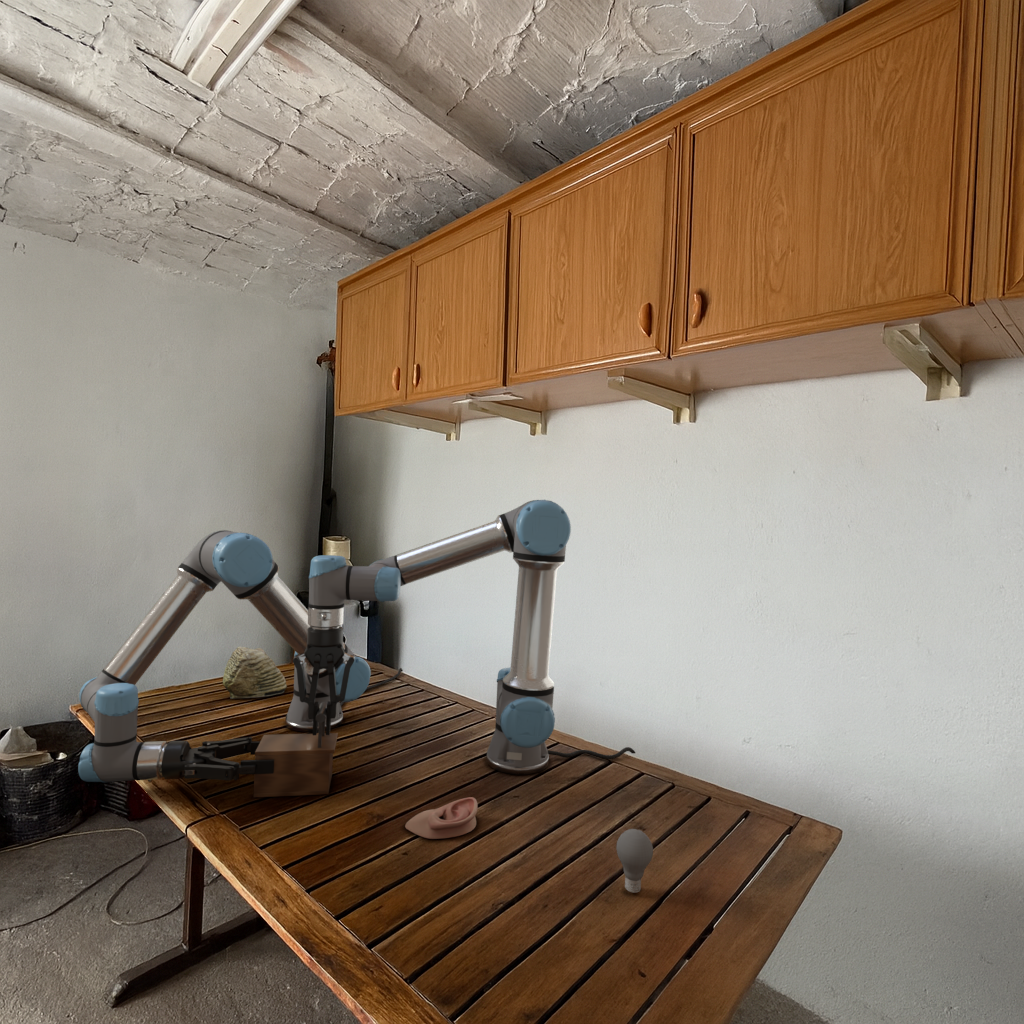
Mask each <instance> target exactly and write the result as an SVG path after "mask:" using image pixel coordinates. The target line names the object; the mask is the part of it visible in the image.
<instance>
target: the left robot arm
mask: <svg viewBox="0 0 1024 1024" xmlns="http://www.w3.org/2000/svg"><path fill="white" fill-rule="evenodd" d="M176 571H177V572H176V573H177V574H176V577H175V578H174V579H173V580H172V582H171V583H170V584H169V586H168V587H167V588H165V591H163V593H162V594H161V596H160V597H159V598H158V600H157V601H156V602H155V604H153V606H152V607H151V608H150V610H149V611H148V612H147V613H146V615H145V616H144V617H143V618H142V620H141V621H140V622H139V624H138V625H137V626H136V627H135V629H134V630H132V633H130V635H129V636H128V637H127V639H126V640H125V641H124V642H123V644H122V645H121V647H120V648H119V649H118V650H117V651H116V653H115V654H114V655H113V656H112V658H111V659H110V660H109V661H108V663H107V664H106V665H105V667H104V668H103V669H102V670H101V671H100V672H99V673H98V675H97V676H96V677H93V678H90V679H89V680H87V681H86V682H85V683H83V685H82V686H81V687H80V689H79V693H78V699H79V703H80V706H81V708H82V709H83V710H84V712H86V713H87V714H88V715H89V717H90V718H91V719H92V721H93V722H94V739H93V742H92V743H88V744H87V745H86V746H85V747H84V748H83V750H82V751H81V754H80V756H79V762H78V767H77V770H78V776H79V778H80V780H81V781H84V782H87V783H113V782H129V781H131V782H132V781H147V782H149V783H151V782H153V781H155V780H157V781H158V780H162V779H164V780H182V779H183V778H184V779H186V780H190V779H201V780H202V779H203V780H216V781H228V782H229V781H238V780H240V776H246V775H254V774H273V773H274V759H268V760H255V759H242V760H240V762H237V761H232V760H227V758H231V757H236V756H237V757H238V756H241V755H242V756H243V755H245V754H250V756H255V751H256V749H257V748H258V746H259V744H260V742H261V740H257V741H256V740H253V737H252V736H247V737H239V738H231V739H230V738H229V739H223V740H213V741H212V740H210V741H207V740H205V741H202V743H201V746H198V747H193V748H192V747H191V744H190V742H189V741H188V740H171V741H169V742H168V741H167V740H159V741H157V740H156V741H154V740H153V741H137V736H138V715H139V714H138V712H139V703H140V700H139V690H138V687H137V685H136V684H137V683H138V682H139V680H141V678H142V677H143V676H144V674H145V673H146V672H147V670H148V669H149V667H150V666H151V665H152V663H153V662H154V661H155V659H156V658H157V657H158V656H159V655H160V653H161V652H162V651H163V650H164V648H165V647H166V646H167V644H168V643H169V642H170V640H171V639H172V637H173V636H174V635H175V634H176V633H177V631H178V630H179V629H180V627H181V626H182V625H183V623H184V622H185V620H186V619H187V618H188V617H189V615H190V614H191V613H192V611H194V609H195V608H196V606H197V605H198V604H199V603H200V601H201V600H202V598H204V596H205V595H206V593H209V592H213V591H214V590H215V589H216V588H217V586H218V585H219V584H220V583H221V584H223V585H224V586H225V587H226V588H227V589H228V590H229V592H231V594H232V595H233V596H234V597H235V598H236V599H237V600H248V602H249V603H250V604H251V605H252V606H253V607H254V608H255V609H256V611H258V613H260V615H261V616H262V617H263V618H264V619H265V620H266V621H267V622H268V623H269V625H270V626H271V627H273V629H274V630H275V631H276V632H277V633H278V634H279V635H280V636H281V637H282V638H283V640H284V641H285V642H286V643H287V644H288V645H289V646H290V647H291V648H292V650H294V655H293V658H294V657H295V656H296V655H298V656H299V655H301V654H303V653H304V651H305V649H306V648H307V631H308V628H309V627H310V626H309V625H308V608H306V606H305V605H304V603H302V602H301V600H300V599H299V598H298V597H297V596H296V595H295V594H294V592H292V590H291V589H290V588H289V586H287V584H286V583H285V582H284V580H283V579H282V578H280V576H279V571H280V567H279V565H278V564H277V562H275V560H274V558H273V554H272V551H271V548H270V547H269V545H268V544H267V543H266V542H265V541H264V540H263V539H261V538H260V537H258V536H256V535H253V534H251V533H249V532H237V531H232V530H227V529H224V530H216V531H213V532H211V533H208V534H207V535H205V536H204V537H203V538H201V540H199V541H198V542H197V543H196V545H195V546H194V547H192V549H191V550H190V552H189V553H188V554H187V556H186V557H185V558H184V559H183V560H182V561H181V563H180V564H179V565H178V567H177V568H176ZM343 648H344V650H345V653H347V654H349V655H354V656H355V660H354V663H353V664H352V666H351V668H350V673H349V678H348V684H347V689H346V695H345V699H344V701H342V702H338V703H337V707H336V717H335V718H331V729H330V730H332V729H335V728H337V727H339V726H340V725H342V723H343V722H344V713H343V709H342V706H343V705H344V703H350V702H353V701H355V700H357V699H359V698H360V697H361V696H362V695H363V694H364V693H365V691H368V690H371V689H374V688H377V687H379V686H383V685H384V684H387V683H389V682H392V681H393V680H395V679H396V678H398V677H399V676H400V675H401V673H402V672H403V668H402V667H400V668H399V669H398V672H397V674H395V675H393V676H392V677H390V678H387V679H385V680H383V681H381V682H377V683H375V684H372V685H369V684H370V681H371V680H370V679H371V676H372V670H371V666H370V665H369V664H368V663H369V662H367V661H366V660H365V659H364V658H362V657H360V656H357V655H356V654H355V653H354V652H353V651H352V650H351V649H350V647H348V645H347V644H346V643H345V642H344V641H343ZM343 661H344V658H343V657H342V658H341V660H340V661H339V662H338V664H337V665H336V666H335V678H336V693H337V695H339V694H340V690H341V685H342V679H343V674H344V669H345V664H344V662H343ZM303 665H304V672H305V682H306V691H307V695H310V688H311V681H312V673H313V667H312V665H311V664H310V663H309V661H308V660H307V658H305V663H304V664H303ZM292 696H293V697H292V699H291V702H290V704H289V708H288V711H287V713H286V714H285V726H286V728H287V729H289V730H291V731H294V732H295V731H296V732H301V733H313V719H309V718H308V707H309V706H308V704H307V703H305V702H301V701H300V696H299V687H298V678H297V669H296V667H295V666H294V672H293V695H292ZM328 701H330V690H329V676H328V670H327V669H320V671H319V678H318V684H317V691H316V699H315V702H319V706H320V704H321V703H322V702H326V703H328ZM319 706H318V709H319ZM326 716H327V715H326ZM318 731H319V723H318ZM318 731H317V733H318ZM325 731H326V719H325Z"/></svg>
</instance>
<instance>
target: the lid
mask: <svg viewBox="0 0 1024 1024" xmlns="http://www.w3.org/2000/svg"><path fill="white" fill-rule="evenodd" d="M326 715H327V703H326V702H322V703H321V704H320V706H319V709H318V712H317V715H316V721H317V722H318V723H319V731H318V732H317V734H316V735H313V733H283V734H263V736H262V738H261V739H260V741H261V742H260V744H259V746H258V748H257V749H256V751H255V755H254V757H255V756H264V755H298V754H332V753H333V754H335V752H336V746H337V742H338V737H339V733H338V732H330V734H329V735H326V730H325V719H326Z"/></svg>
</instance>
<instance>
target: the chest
mask: <svg viewBox="0 0 1024 1024" xmlns="http://www.w3.org/2000/svg"><path fill="white" fill-rule="evenodd" d="M268 759H274V773H273V774H253V775H254V776H253V798H271V797H272V798H273V797H295V796H319V795H321V796H322V795H329V793H330V786H331V781H332V776H333V761H334V753H332V754H298V755H264V756H255V755H254V760H268Z"/></svg>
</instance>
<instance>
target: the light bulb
mask: <svg viewBox="0 0 1024 1024" xmlns="http://www.w3.org/2000/svg"><path fill="white" fill-rule="evenodd" d="M615 849H616V854H617V857H618V859H619V861H620V863H621V865H622V867H623V873H624V874H623V875H624V876H625V878H624V888H625V890H627V891H628V892H630V893H634V894H635V893H639V892H640V891H641V889H642V887H641V886H642V879H643V877H644V875H645V871H646V868H647V867H648V866H649V864H650V863H651V861H652V859H653V855H654V847H653V843H652V841H651V838H649V836H648V835H647V834H646V833H645V832H643V831H642V830H641V829H636V828H629V829H627V830H625V831H623V832H622V833H621V834H620V835H619V837H618V839H617V841H616V847H615Z"/></svg>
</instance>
